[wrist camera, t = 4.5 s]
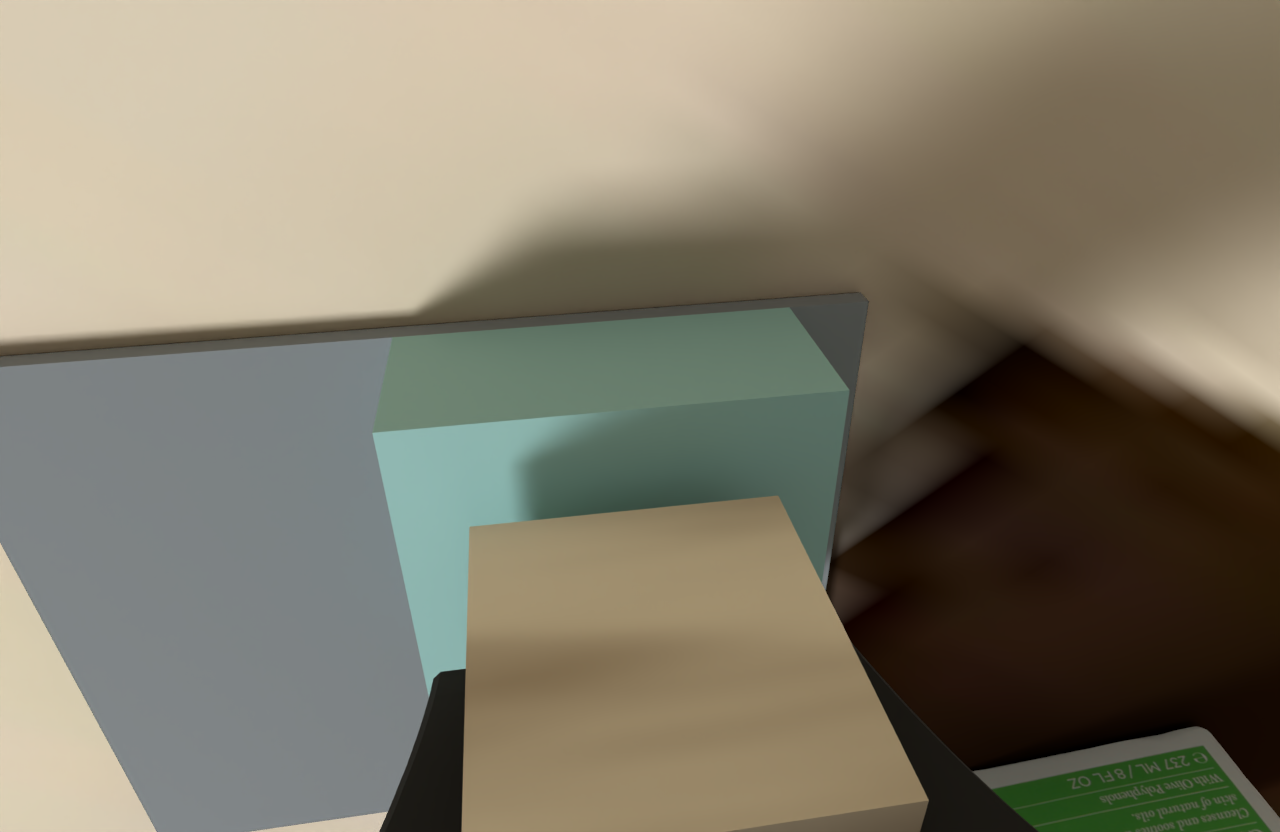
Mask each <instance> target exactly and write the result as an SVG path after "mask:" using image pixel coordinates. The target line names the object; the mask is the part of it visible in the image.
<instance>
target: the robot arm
mask: <svg viewBox="0 0 1280 832" xmlns="http://www.w3.org/2000/svg"><path fill="white" fill-rule="evenodd" d="M850 642H851V641H850ZM851 644H852V643H851ZM852 646H853V648H854V650H855V652H856V654H857V656H858V658H859V660H860V662H861V664H862V666H863V668H864V670H865V672H866V674H867V676H868V678H869V680H870V682H871V684H872V686H873V688H874V690H875V692H876V694H877V696H878V698H879V700H880V702H881V704H882V706H883V709H884V711H885V713H886V715H887V717H888V719H889V721H890V723H891V725H892V727H893V729H894V731H895V733H896V735H897V737H898V739H899V741H900V743H901V745H902V747H903V749H904V751H905V753H906V755H907V757H908V759H909V761H910V763H911V765H912V767H913V769H914V771H915V773H916V775H917V777H918V779H919V781H920V783H921V785H922V787H923V789H924V791H925V794H926V796H927V798H928V800H929V802H928V805H927V809H926V812H925V816H924V819H923V823H922V826H921V830H920V832H1039V831H1038V830H1036V829H1035V828H1034V827H1033V826H1032V825H1031V824H1029V823H1028V822H1027V821H1026V820H1025V819H1024V818H1023V817H1021V816H1020V815H1019V814H1018V813H1017V812H1016V811H1015V810H1014V809H1012V808H1011V807H1010V806H1009V805H1008V804H1007V803H1006V802H1005V801H1004V800H1002V799H1001V798H1000V797H999V796H998V795H997V794H996V793H995V792H994V791H993V790H992V789H991V788H990V787H988V786H987V785H986V784H985V783H984V782H983V781H982V780H981V779H980V778H979V777H978V776H977V775H976V774H975V773H974V772H972V771H971V770H970V769H969V768H968V767H967V766H966V765H965V764H964V763H963V762H962V761H961V760H960V759H959V758H958V757H957V756H956V755H955V754H954V753H953V752H952V751H951V750H950V749H949V748H948V747H947V746H946V745H945V744H944V743H943V742H942V741H941V740H940V739H939V738H938V737H937V736H936V735H935V734H934V733H933V732H932V731H931V729H930V728H929V727H928V726H927V725H926V724H925V723H924V722H923V721H922V720H921V719H920V718H919V717H918V716H917V715H916V714H915V713H914V712H913V711H912V710H911V709H910V708H909V707H908V705H907V704H906V703H905V702H904V701H903V700H902V699H901V698H900V697H899V696H898V695H897V694H896V692H895V691H894V690H893V689H892V688H891V687H890V686H889V685H888V684H887V682H886V681H885V680H884V679H883V678H882V677H881V676H880V675H879V674H878V672H877V671H876V670H875V669H874V668H873V667H872V666H871V665H870V663H869V662H868V661H867V660H866V659H865V658H864V657H863V655H862V654H861V653H860V652H859V651H858V650H857V648H856V647H855V646H854V645H853V644H852ZM465 679H466V669H459V670H451V671H443V672H440V673H439V674H438V675H437V676H436V677H434V678H433V682H432V687H431V691H430V695H429V699H428V702H427V706H426V709H425V713H424V716H423V719H422V723H421V726H420V729H419V732H418V735H417V738H416V741H415V743H414V746H413V749H412V752H411V755H410V757H409V760H408V763H407V766H406V768H405V771H404V773H403V776H402V778H401V781H400V783H399V786H398V788H397V791H396V793H395V796H394V798H393V800H392V803H391V805H390V808H389V810H388V813H387V815H386V818H385V820H384V822H383V825H382V827H381V829H380V832H462V795H463V756H464V718H465Z"/></svg>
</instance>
